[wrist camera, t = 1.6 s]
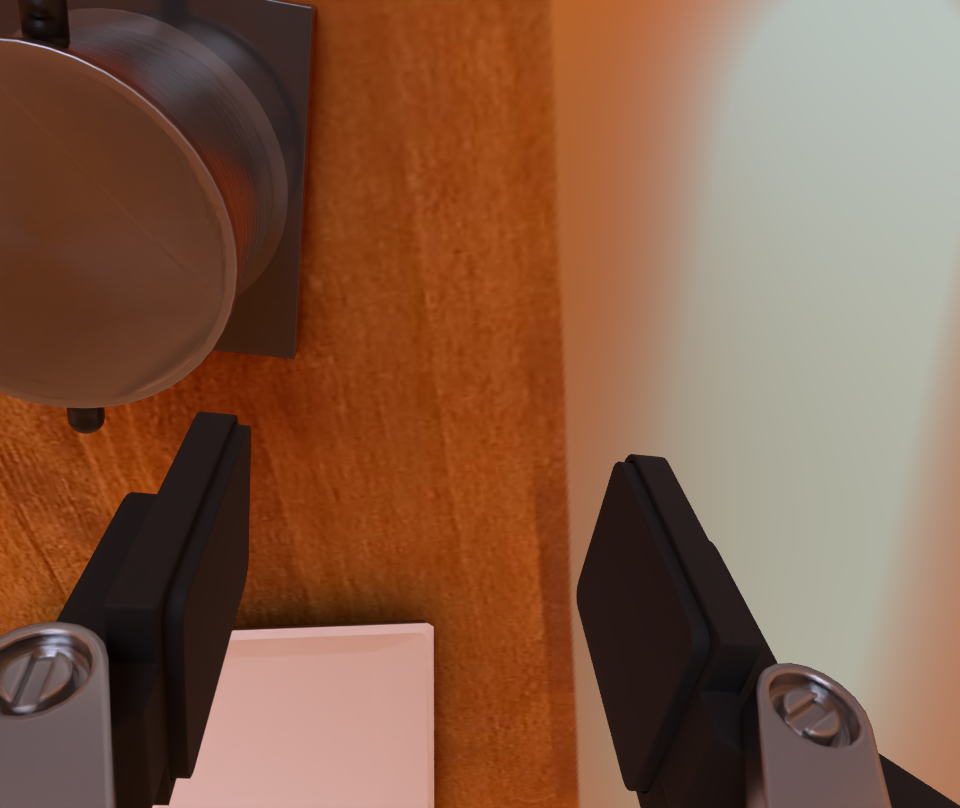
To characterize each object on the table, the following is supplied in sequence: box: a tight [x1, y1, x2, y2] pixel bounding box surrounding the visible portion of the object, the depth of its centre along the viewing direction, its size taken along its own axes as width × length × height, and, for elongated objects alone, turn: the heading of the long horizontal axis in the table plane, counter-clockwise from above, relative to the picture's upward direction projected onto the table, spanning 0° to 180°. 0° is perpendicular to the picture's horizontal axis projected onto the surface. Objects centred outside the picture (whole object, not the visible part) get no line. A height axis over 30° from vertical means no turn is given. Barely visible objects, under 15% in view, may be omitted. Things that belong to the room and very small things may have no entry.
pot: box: [0, 0, 273, 434], centre depth 22 cm, size 13×9×7 cm
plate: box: [152, 620, 434, 808], centre depth 39 cm, size 19×19×2 cm
